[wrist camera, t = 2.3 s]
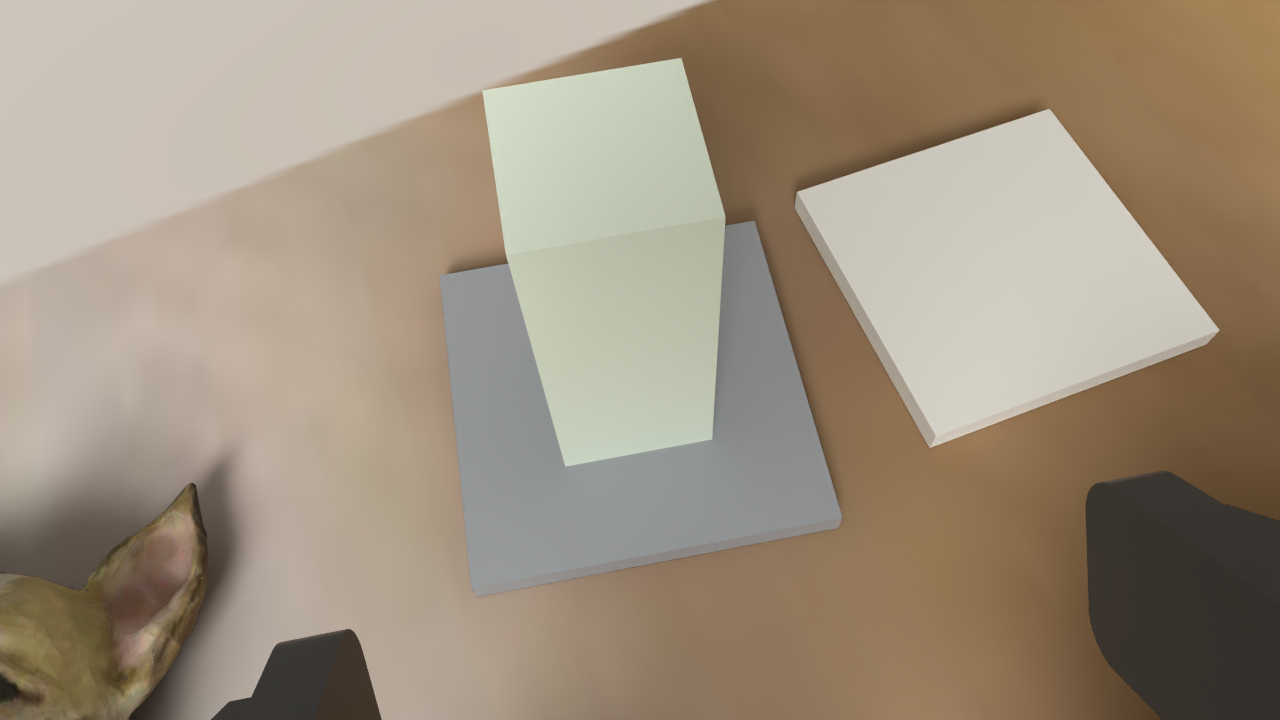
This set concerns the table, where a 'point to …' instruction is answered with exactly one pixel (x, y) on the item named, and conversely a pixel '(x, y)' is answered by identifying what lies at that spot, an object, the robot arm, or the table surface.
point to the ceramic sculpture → (104, 624)
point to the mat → (998, 275)
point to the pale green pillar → (613, 253)
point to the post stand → (638, 483)
